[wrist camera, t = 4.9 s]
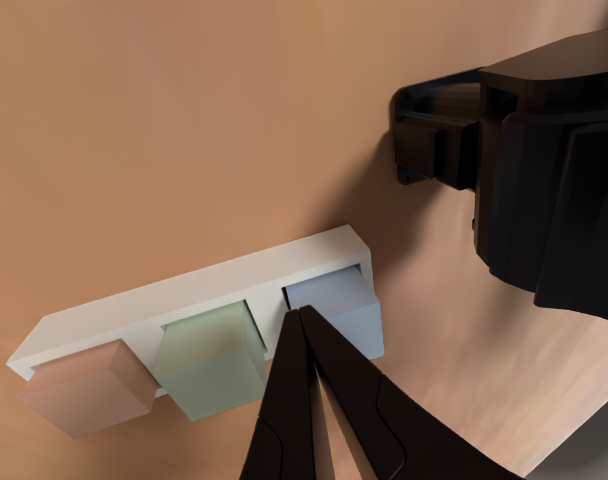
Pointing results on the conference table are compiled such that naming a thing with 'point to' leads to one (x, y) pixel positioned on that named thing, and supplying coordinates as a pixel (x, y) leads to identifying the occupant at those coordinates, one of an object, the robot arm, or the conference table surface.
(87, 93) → the conference table surface
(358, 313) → the slate blue key
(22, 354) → the key console
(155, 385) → the terracotta key
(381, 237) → the conference table surface
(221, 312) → the sage green key
